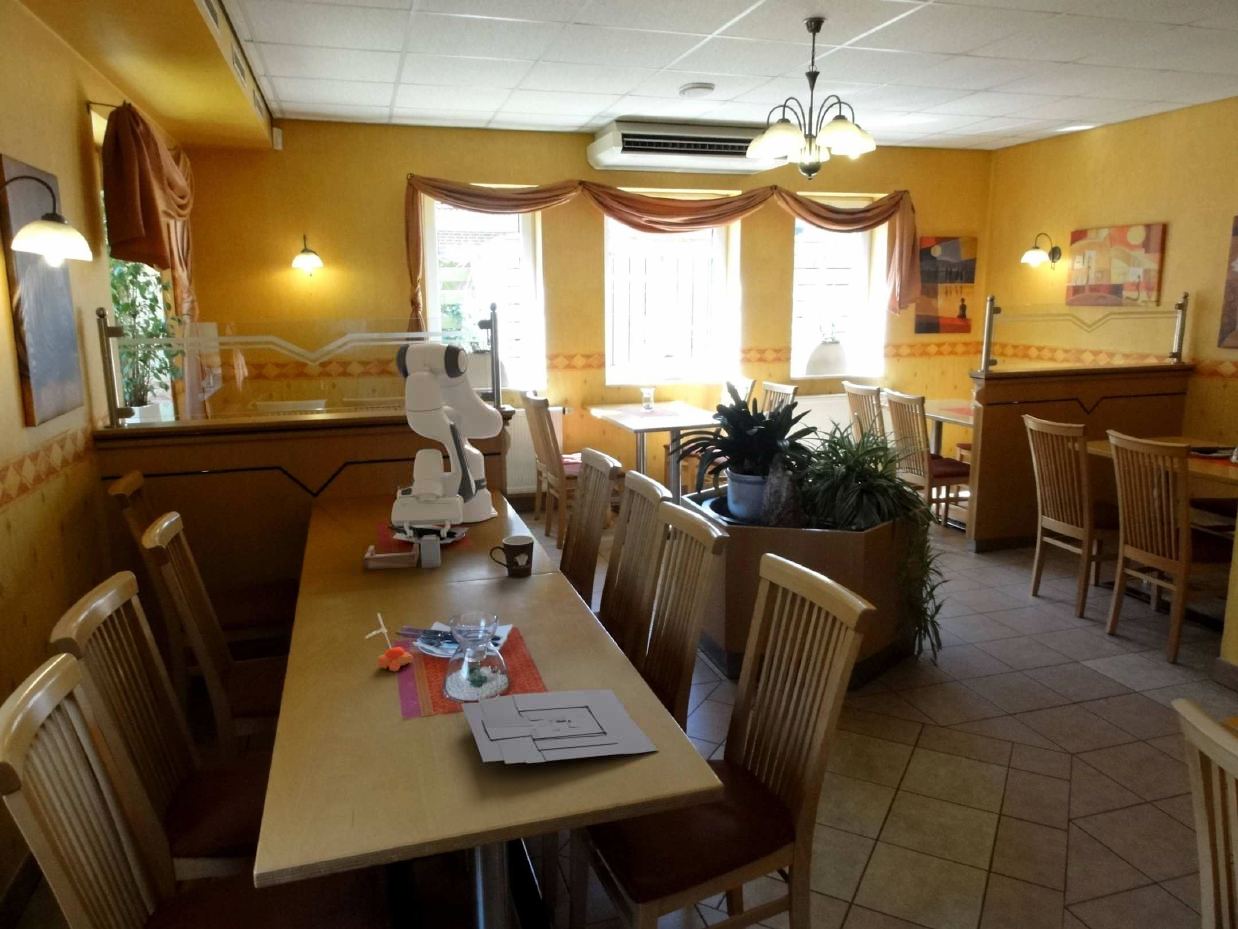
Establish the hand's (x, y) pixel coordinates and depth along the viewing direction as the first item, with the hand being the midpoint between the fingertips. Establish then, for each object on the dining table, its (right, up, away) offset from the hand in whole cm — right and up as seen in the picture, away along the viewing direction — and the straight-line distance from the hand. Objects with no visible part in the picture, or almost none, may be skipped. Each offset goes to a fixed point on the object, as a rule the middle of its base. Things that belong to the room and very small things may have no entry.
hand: (426, 536), depth 241 cm
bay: (-11, -8, +4) cm, 14 cm away
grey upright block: (+1, -8, 0) cm, 8 cm away
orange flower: (+7, -22, -64) cm, 68 cm away
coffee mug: (+26, -10, -8) cm, 29 cm away
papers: (+44, -28, -92) cm, 106 cm away
